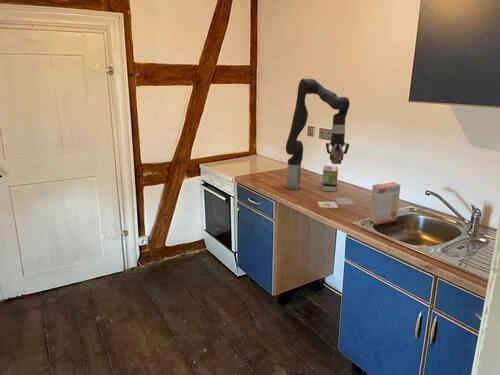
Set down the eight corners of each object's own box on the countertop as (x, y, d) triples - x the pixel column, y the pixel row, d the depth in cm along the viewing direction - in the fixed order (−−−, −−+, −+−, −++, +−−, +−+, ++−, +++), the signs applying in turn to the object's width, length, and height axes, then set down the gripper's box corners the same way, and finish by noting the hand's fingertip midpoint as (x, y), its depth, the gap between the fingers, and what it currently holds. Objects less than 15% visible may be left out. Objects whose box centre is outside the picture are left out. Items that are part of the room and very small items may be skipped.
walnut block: (332, 164, 222) (333, 150, 220) (331, 161, 229) (331, 148, 226) (341, 164, 222) (342, 150, 219) (339, 161, 228) (340, 148, 226)
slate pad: (337, 204, 231) (337, 204, 231) (334, 198, 242) (334, 198, 242) (354, 205, 230) (354, 204, 230) (350, 198, 242) (350, 198, 242)
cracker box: (389, 217, 210) (393, 181, 204) (396, 221, 204) (401, 184, 198) (368, 221, 205) (372, 184, 199) (375, 225, 199) (379, 187, 193)
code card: (319, 207, 226) (319, 207, 226) (317, 201, 236) (317, 201, 236) (338, 207, 225) (338, 207, 225) (335, 202, 236) (335, 201, 236)
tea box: (336, 191, 257) (338, 170, 253) (321, 191, 259) (322, 170, 255) (336, 185, 271) (337, 165, 267) (322, 185, 273) (323, 165, 269)
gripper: (326, 132, 217) (324, 161, 222) (351, 133, 216) (349, 162, 221) (325, 131, 224) (323, 159, 229) (349, 131, 223) (347, 159, 228)
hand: (336, 160), depth 225 cm, fingers closed on walnut block, 5 cm apart
